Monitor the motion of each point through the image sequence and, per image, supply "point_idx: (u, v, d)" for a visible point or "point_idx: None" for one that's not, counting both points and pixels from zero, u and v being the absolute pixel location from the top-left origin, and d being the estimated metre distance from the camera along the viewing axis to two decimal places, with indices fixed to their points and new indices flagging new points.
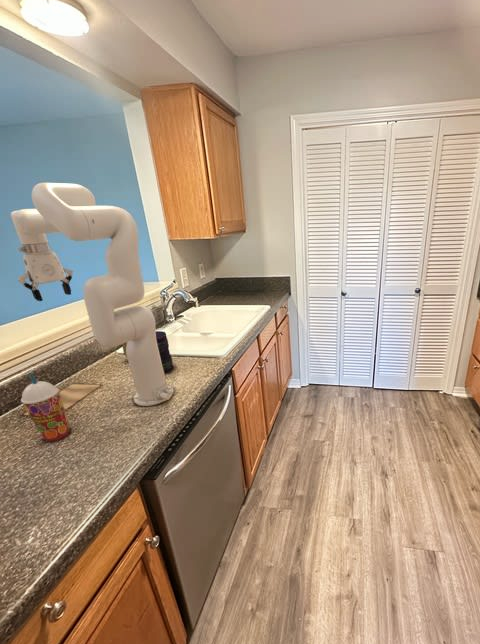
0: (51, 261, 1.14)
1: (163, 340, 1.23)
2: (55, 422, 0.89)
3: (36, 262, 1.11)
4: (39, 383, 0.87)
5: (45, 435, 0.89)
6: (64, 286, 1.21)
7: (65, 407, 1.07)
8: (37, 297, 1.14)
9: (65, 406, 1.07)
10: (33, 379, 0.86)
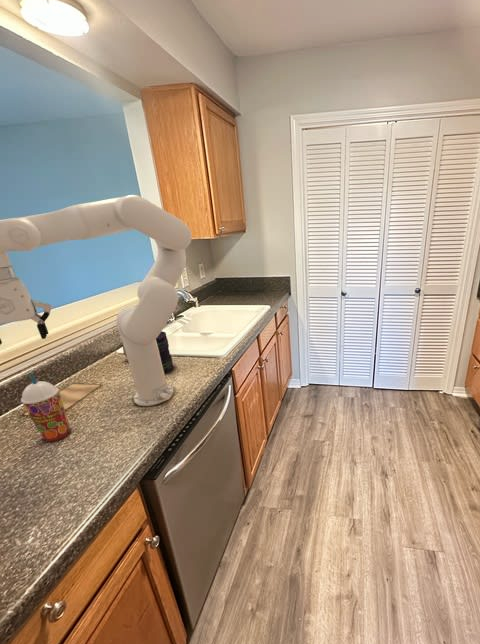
0: (9, 294, 0.78)
1: (163, 340, 1.23)
2: (55, 422, 0.89)
3: None
4: (39, 383, 0.87)
5: (45, 435, 0.89)
6: None
7: (65, 407, 1.07)
8: None
9: (65, 406, 1.07)
10: (33, 379, 0.86)
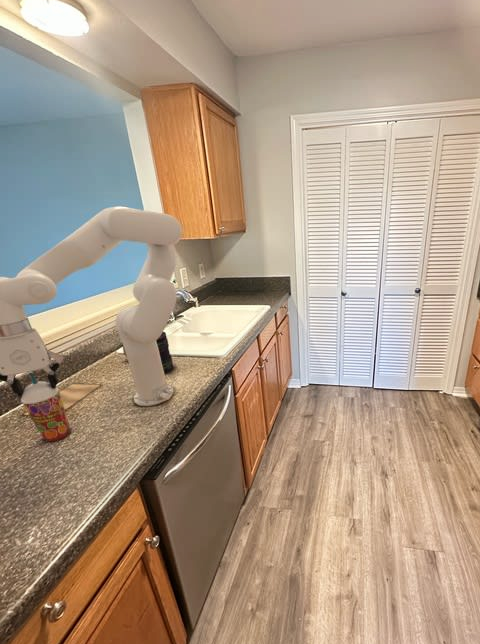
0: (25, 346, 0.81)
1: (163, 340, 1.23)
2: (55, 422, 0.89)
3: (1, 349, 0.79)
4: (39, 383, 0.87)
5: (45, 435, 0.89)
6: None
7: (65, 407, 1.07)
8: (15, 391, 0.84)
9: (65, 406, 1.07)
10: (33, 379, 0.86)
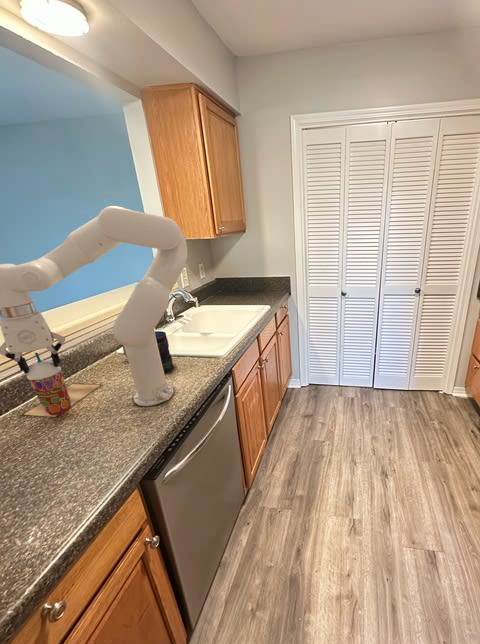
0: (31, 326, 0.89)
1: (163, 340, 1.23)
2: (58, 397, 0.98)
3: (10, 329, 0.87)
4: (43, 361, 0.95)
5: (49, 409, 0.98)
6: None
7: None
8: (22, 369, 0.93)
9: None
10: (38, 358, 0.95)
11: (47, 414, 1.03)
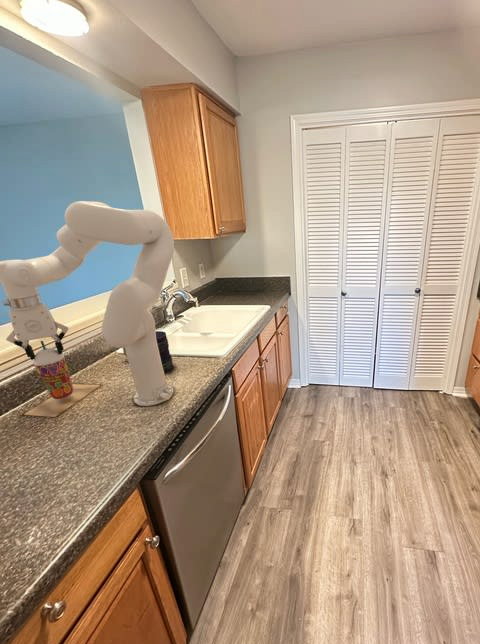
0: (37, 316, 0.98)
1: (163, 340, 1.23)
2: (61, 382, 1.07)
3: (18, 318, 0.96)
4: (48, 349, 1.04)
5: (53, 393, 1.07)
6: None
7: (65, 407, 1.07)
8: (28, 355, 1.02)
9: (65, 406, 1.07)
10: (43, 346, 1.04)
11: (47, 414, 1.03)
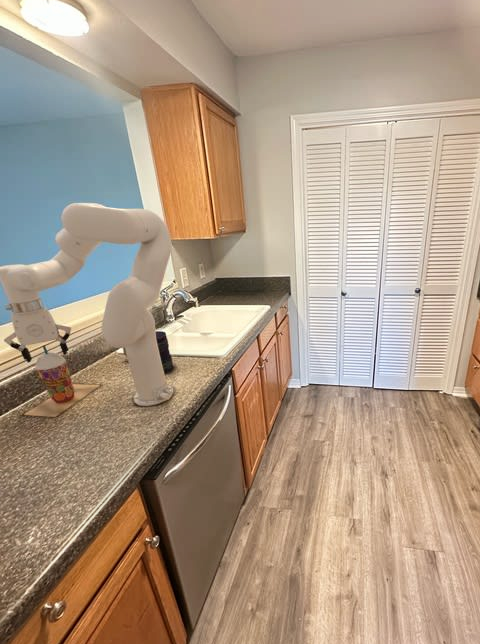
0: (39, 321, 0.99)
1: (163, 340, 1.23)
2: (63, 386, 1.08)
3: (20, 322, 0.97)
4: (50, 353, 1.05)
5: (54, 397, 1.08)
6: None
7: (65, 407, 1.07)
8: (25, 358, 1.02)
9: (65, 406, 1.07)
10: (45, 350, 1.05)
11: (47, 414, 1.03)
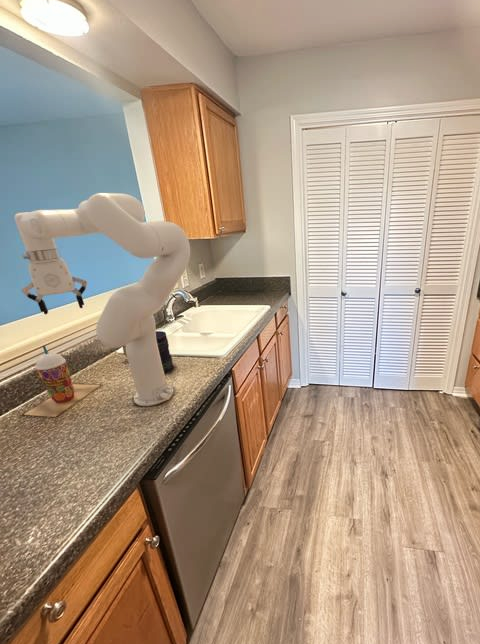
0: (56, 270, 0.99)
1: (163, 340, 1.23)
2: (63, 386, 1.08)
3: (37, 271, 0.97)
4: (50, 353, 1.05)
5: (54, 397, 1.08)
6: (77, 298, 1.06)
7: (65, 407, 1.07)
8: (42, 310, 1.02)
9: (65, 406, 1.07)
10: (45, 350, 1.05)
11: (47, 414, 1.03)
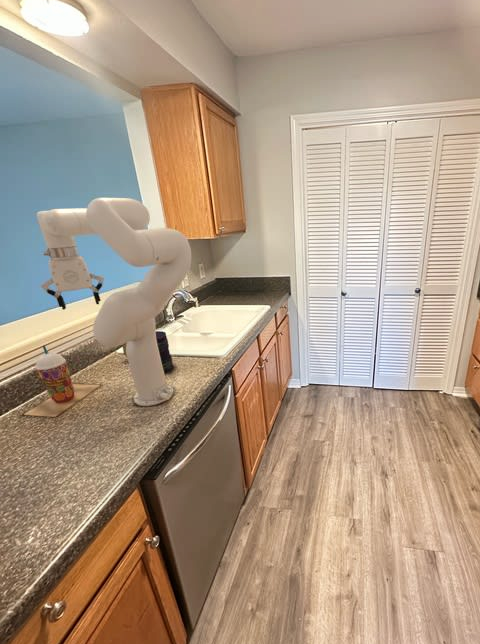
0: (75, 267, 1.02)
1: (163, 340, 1.23)
2: (63, 386, 1.08)
3: (57, 268, 1.00)
4: (50, 353, 1.05)
5: (54, 397, 1.08)
6: (93, 294, 1.09)
7: (65, 407, 1.07)
8: (60, 305, 1.05)
9: (65, 406, 1.07)
10: (45, 350, 1.05)
11: (47, 414, 1.03)
